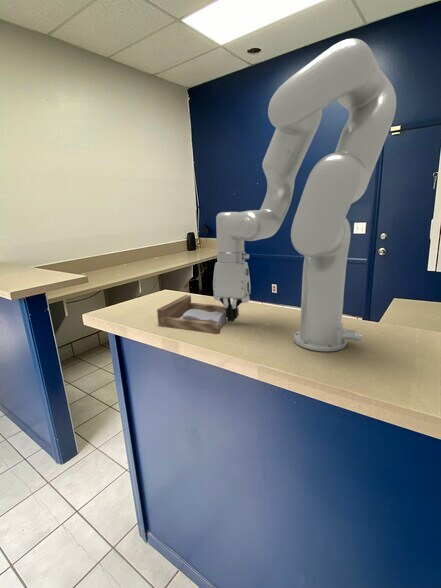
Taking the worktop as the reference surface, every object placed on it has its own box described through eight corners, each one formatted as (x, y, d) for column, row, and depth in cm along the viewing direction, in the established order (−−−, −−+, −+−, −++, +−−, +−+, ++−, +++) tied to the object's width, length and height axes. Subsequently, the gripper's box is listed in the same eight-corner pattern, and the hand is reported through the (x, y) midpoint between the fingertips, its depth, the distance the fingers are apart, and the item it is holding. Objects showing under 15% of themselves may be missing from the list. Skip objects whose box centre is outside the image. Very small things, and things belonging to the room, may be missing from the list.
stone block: (194, 322, 98) (179, 327, 89) (195, 307, 98) (180, 310, 88) (229, 327, 94) (217, 333, 85) (230, 312, 94) (218, 315, 84)
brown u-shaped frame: (238, 314, 99) (238, 299, 97) (217, 333, 84) (217, 316, 82) (186, 309, 106) (185, 295, 105) (158, 325, 91) (157, 309, 90)
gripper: (260, 256, 86) (260, 318, 91) (211, 255, 92) (213, 313, 97) (252, 260, 80) (252, 327, 84) (200, 258, 85) (203, 321, 90)
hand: (231, 320), depth 91 cm, fingers closed
